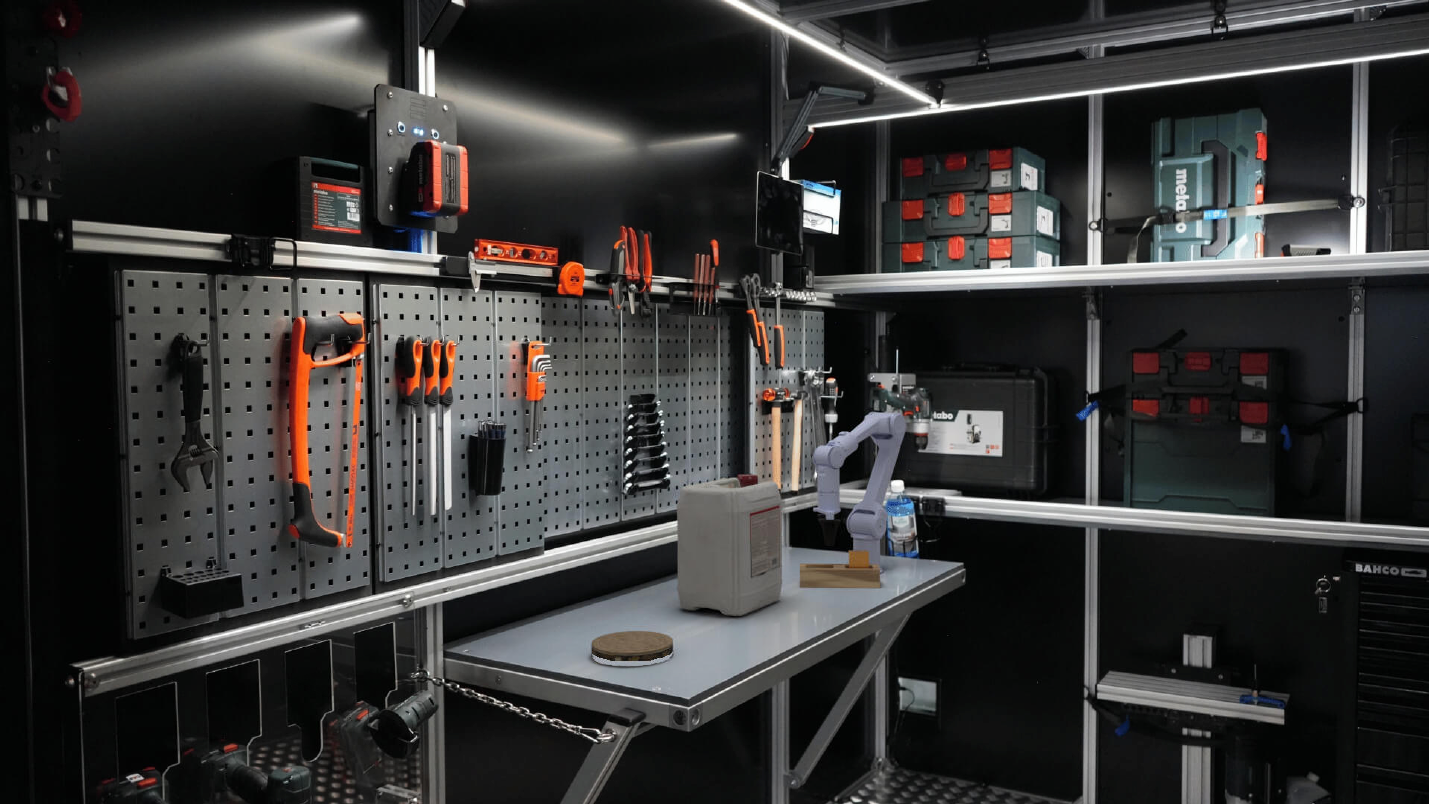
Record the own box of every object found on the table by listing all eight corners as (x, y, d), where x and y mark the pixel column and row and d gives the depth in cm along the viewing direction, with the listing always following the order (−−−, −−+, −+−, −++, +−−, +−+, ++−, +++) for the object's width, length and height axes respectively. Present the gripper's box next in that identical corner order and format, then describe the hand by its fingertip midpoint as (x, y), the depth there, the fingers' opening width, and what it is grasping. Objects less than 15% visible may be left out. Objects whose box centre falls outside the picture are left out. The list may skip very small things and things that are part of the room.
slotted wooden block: (800, 580, 263) (800, 563, 263) (877, 581, 262) (877, 563, 261) (800, 587, 255) (799, 569, 255) (880, 587, 254) (879, 570, 254)
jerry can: (722, 591, 252) (720, 471, 251) (789, 599, 242) (788, 474, 242) (669, 611, 232) (667, 481, 231) (740, 621, 222) (738, 485, 221)
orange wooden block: (848, 577, 259) (848, 550, 259) (868, 577, 259) (868, 550, 259) (849, 579, 257) (849, 552, 257) (869, 579, 257) (868, 552, 256)
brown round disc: (690, 655, 197) (690, 640, 197) (631, 674, 185) (630, 657, 185) (634, 641, 208) (633, 626, 208) (574, 658, 196) (574, 643, 196)
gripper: (812, 488, 272) (812, 538, 273) (813, 495, 258) (814, 548, 258) (838, 488, 272) (839, 538, 272) (841, 494, 257) (842, 548, 258)
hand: (829, 543), depth 265 cm, fingers open, 7 cm apart
